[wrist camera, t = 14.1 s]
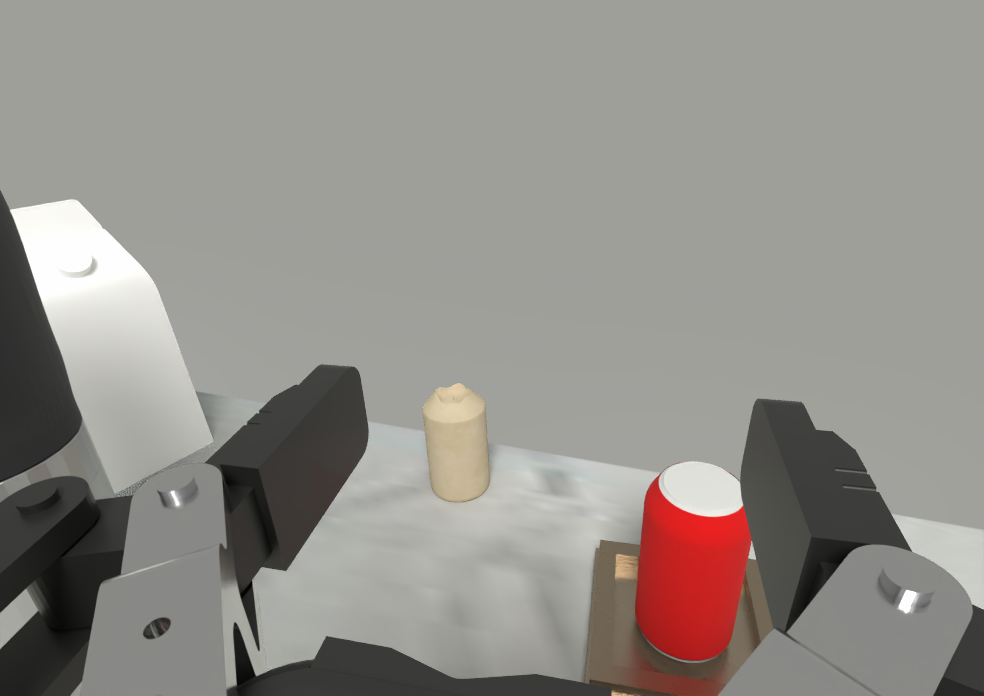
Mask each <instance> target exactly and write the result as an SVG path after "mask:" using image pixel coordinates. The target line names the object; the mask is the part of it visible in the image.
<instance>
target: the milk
mask: <svg viewBox="0 0 984 696" xmlns="http://www.w3.org/2000/svg"><path fill="white" fill-rule="evenodd" d="M10 212H11V214H12V216H13V218H14V221H15V224H16V226H17V229H18V232H19V234H20V237H21V240H22V243H23V245H24V248H25V252H26V255H27V258H28V261H29V264H30V267H31V270H32V273H33V276H34V279H35V283H36V286H37V289H38V292H39V295H40V298H41V301H42V304H43V306H44V309H45V312H46V315H47V318H48V321H49V323H50V326H51V329H52V331H53V334H54V336H55V339H56V341H57V344H58V346H59V349H60V352H61V355H62V358H63V361H64V364H65V367H66V371H67V374H68V378H69V381H70V385H71V388H72V392H73V395H74V398H75V401H76V403H77V405H78V408H79V410H80V412H81V415H82V417H83V419H84V422H85V424H86V427H87V429H88V431H89V434H90V436H91V439H92V441H93V443H94V446H95V448H96V451H97V453H98V456H99V457H100V460H101V462H102V465H103V467H104V469H105V472H106V474H107V477H108V479H109V481H110V484H111V486H112V489H113V491H114V493H115V494H116V493H118V492H120V491H122V490H124V489H126V488H127V487H129V486H131V485H133V484H135V483H137V482H139V481H141V480H143V479H144V478H146V477H148V476H150V475H152V474H154V473H156V472H158V471H160V470H162V469H163V468H165V467H167V466H169V465H171V464H173V463H175V462H177V461H179V460H181V459H182V458H184V457H186V456H188V455H190V454H192V453H194V452H196V451H198V450H199V449H201V448H203V447H205V446H207V445H209V444H211V443H213V442H214V440H213V438H212V435H211V432H210V430H209V427H208V424H207V421H206V419H205V416H204V413H203V411H202V408H201V405H200V403H199V400H198V397H197V395H196V392H195V389H194V387H193V384H192V381H191V378H190V376H189V373H188V370H187V368H186V365H185V362H184V360H183V357H182V354H181V352H180V349H179V346H178V343H177V341H176V338H175V335H174V333H173V330H172V328H171V325H170V322H169V319H168V317H167V314H166V311H165V309H164V306H163V303H162V300H161V298H160V295H159V292H158V290H157V288H156V286H155V283H154V282H153V280H152V279H151V277H150V276H149V275H148V273H147V272H146V271H145V270H144V269H143V267H142V266H141V265H140V264H139V263H138V262H137V261H136V260H135V259H134V258H133V257H132V256H131V255H130V254H129V253H128V252H127V251H126V250H125V249H124V248H123V247H122V246H121V245H120V244H119V243H118V242H117V241H116V240H115V239H114V238H113V237H112V236H111V235H110V234H109V233H108V232H107V231H106V230H105V229H102V226H101V225H100V224H99V223H98V222H97V221H96V220H95V219H94V217H93V216H92V215H91V214H90V213H89V212H88V211H87V210H86V209H85V208H84V207H83V206H82V205H81V204H80V203H79V202H78V201H77V200H72V199H71V200H65V201H59V202H53V203H47V204H42V205H35V206H30V207H24V208H18V209H12V210H10Z"/></svg>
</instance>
